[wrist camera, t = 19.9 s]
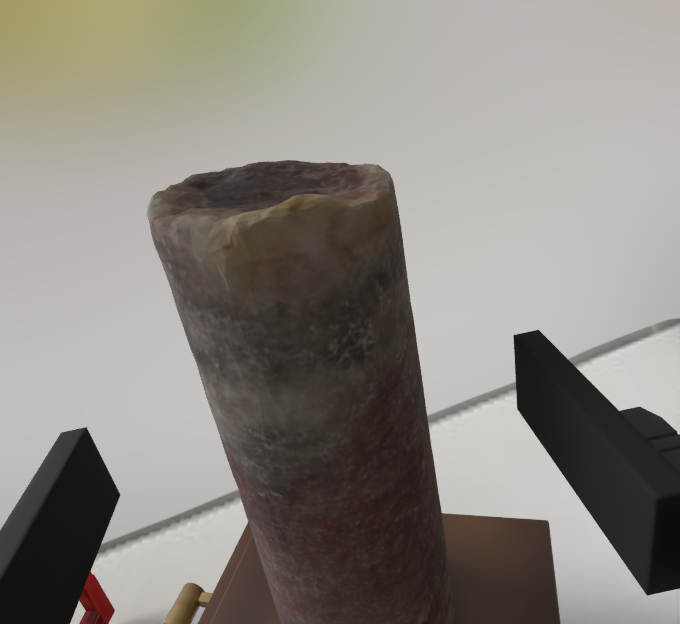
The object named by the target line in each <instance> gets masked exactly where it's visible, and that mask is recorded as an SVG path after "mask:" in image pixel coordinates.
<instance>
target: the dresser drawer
mask: <svg viewBox="0 0 680 624" xmlns="http://www.w3.org/2000/svg"><path fill="white" fill-rule="evenodd" d="M252 535H253V533H252V530H251V527H250V524H249V522H248V524H247V526H246V528H245V530H244V532H243V534H242V536H241V538H240V540H239V542H238V544H237V546H236V548H235V550H234V552H233V554H232V556H231V558H230V560H229V562H228V564H227V566H226V568H225V570H224V572H223V574H222V576H221V578H220V580H219V582H218V584H217V586H216V588H215V590H214V592H213V593H206V592H204V590H203V589H202V588H201V587H200V586H198V585H196V584H194V583H187V584H185V585H184V587H183V589H182V591H181V592H180V594H179V596H178V598H177V600H176V601H175V603H174V605H173V607H172V609H171V610H170V612H169V614H168V616H167V618H166V619H165V621H164V623H163V624H191V622H192V620H193V619H194V617H195V615H196V613H197V611H198V609H199V607H200V606H201V607H205V610H204V612H203V614H202V616H201V618H200V620H199V622H198V624H210V623H211V621H212V619H213V617H214V615H215V613H216V610H217V608H218V606H219V604H220V602H221V600H222V598H223V596H224V594H225V592H226V589H227V587H228V585H229V583H230V581H231V579H232V577H233V575H234V573H235V570H236V568H237V566H238V564H239V562H240V560H241V558H242V556H243V554H244V552H245V549H246V547H247V545H248V543H249V541H250V539H251V537H252Z"/></svg>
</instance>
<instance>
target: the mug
mask: <svg viewBox="0 0 680 624" xmlns="http://www.w3.org/2000/svg"><path fill="white" fill-rule="evenodd" d="M79 600H80V602H81V604H82V605H83V607H84V608H85V610H86V612H85V614H84V616H83V618H82V620H81V622H80V624H108V623H109V621H110V619H111V617H112V615H113V613H114V611H115V610H114V608H113V606H112V605H111V603H110V601H109V599H108V598H107V596H106V594H105V593H104V591H103V589H102V587H101V586H100V584H99V582H98V581H97V579H96V577H95V576H94V575H92V573H91V572H90V573H89V576H88V579H87V581H86V584H85V586H84V589H83V591H82V594H81V597H80V599H79Z"/></svg>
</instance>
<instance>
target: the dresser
mask: <svg viewBox="0 0 680 624" xmlns="http://www.w3.org/2000/svg"><path fill="white" fill-rule="evenodd" d="M442 520H443V527H444V534H445V541H446V548H447V555H448V562H449V569H450V577H451V584H452V591H453V600H454V608H455V614H454V622H453V624H560V615H559V606H558V598H557V589H556V580H555V572H554V563H553V554H552V546H551V537H550V528H549V522H548V521H547V520H532V519H517V518H502V517H488V516H473V515H458V514H443V513H442ZM210 624H281V621H280V618H279V615H278V612H277V609H276V606H275V603H274V600H273V597H272V593H271V590H270V587H269V584H268V581H267V577H266V574H265V572H264V569H263V566H262V563H261V559H260V556H259V553H258V550H257V547H256V543H255V540H254V537H253V535H252V537H251V539H250V541H249V543H248V545H247V547H246V549H245V552H244V554H243V556H242V558H241V560H240V562H239V564H238V566H237V568H236V570H235V573H234V575H233V577H232V579H231V581H230V583H229V585H228V587H227V589H226V592H225V594H224V596H223V598H222V600H221V602H220V604H219V606H218V608H217V610H216V613H215V615H214V617H213V619H212V621H211V623H210Z"/></svg>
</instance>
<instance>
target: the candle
mask: <svg viewBox="0 0 680 624" xmlns="http://www.w3.org/2000/svg"><path fill="white" fill-rule="evenodd" d="M147 214H148V219H149V223H150V228H151V234H152V237H153V241H154V245H155V248H156V250H157V252H158V255H159V257H160V260H161V262H162V265H163V267H164V270H165V273H166V276H167V278H168V281H169V284H170V287H171V290H172V294H173V297H174V300H175V303H176V306H177V310H178V313H179V316H180V318H181V321H182V324H183V327H184V330H185V333H186V336H187V339H188V342H189V345H190V348H191V351H192V353H193V355H194V358H195V360H196V363H197V366H198V369H199V373H200V377H201V380H202V383H203V387H204V390H205V394H206V397H207V400H208V403H209V405H210V408H211V411H212V414H213V417H214V419H215V422H216V425H217V428H218V431H219V434H220V437H221V440H222V444H223V447H224V450H225V453H226V456H227V459H228V462H229V465H230V467H231V470H232V473H233V476H234V478H235V481H236V483H237V486H238V489H239V492H240V496H241V499H242V503H243V506H244V509H245V512H246V516H247V518H248V521H249V524H250V527H251V530H252V533H253V537H254V540H255V543H256V547H257V550H258V553H259V556H260V559H261V563H262V566H263V569H264V572H265V574H266V577H267V581H268V584H269V587H270V590H271V593H272V597H273V600H274V603H275V606H276V609H277V612H278V615H279V618H280V621H281V624H453V622H454V614H455V608H454V600H453V591H452V584H451V577H450V569H449V562H448V555H447V548H446V541H445V534H444V527H443V520H442V513H441V507H440V500H439V494H438V487H437V480H436V474H435V467H434V460H433V454H432V448H431V441H430V433H429V426H428V419H427V413H426V406H425V398H424V391H423V383H422V376H421V369H420V362H419V355H418V350H417V342H416V334H415V327H414V320H413V313H412V308H411V302H410V294H409V287H408V279H407V271H406V263H405V256H404V248H403V240H402V232H401V225H400V219H399V212H398V206H397V201H396V195H395V190H394V185H393V180H392V178H391V176H390V174H389V172H387V171H386V170H384V169H383V168H381V167H380V166H379V165H373V164H363V165H349V164H346V163H310V162H300V161H290V160H286V161H278V162H258V163H252V164H248V165H246V166H243V167H237V168H229V169H225V170H223V171H220V172H209V173H203V174H195V175H191V176H190V177H188V178H186V179H185V180H184V181H183V182H181V183H178V184H176V185H171V186H169V187H168V188H167V189H166V190H164V191H159V192H157V193H156V194H155V195H153V197H152V198H151V201H150V203H149V206H148V210H147Z"/></svg>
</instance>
